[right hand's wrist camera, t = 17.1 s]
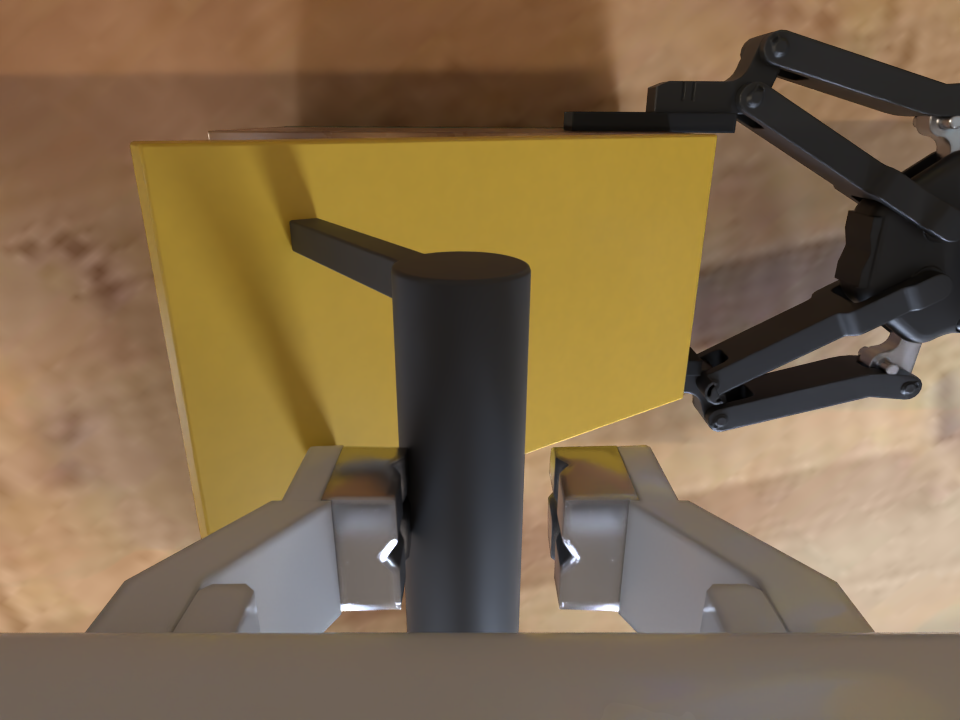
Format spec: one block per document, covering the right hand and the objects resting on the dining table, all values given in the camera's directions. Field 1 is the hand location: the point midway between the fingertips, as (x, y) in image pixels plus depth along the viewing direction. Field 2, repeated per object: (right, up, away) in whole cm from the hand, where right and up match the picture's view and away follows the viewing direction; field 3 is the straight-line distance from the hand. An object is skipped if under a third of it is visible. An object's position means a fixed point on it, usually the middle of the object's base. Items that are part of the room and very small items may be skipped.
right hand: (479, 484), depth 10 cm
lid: (0, +4, +9) cm, 10 cm away
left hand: (+4, +7, +18) cm, 20 cm away
